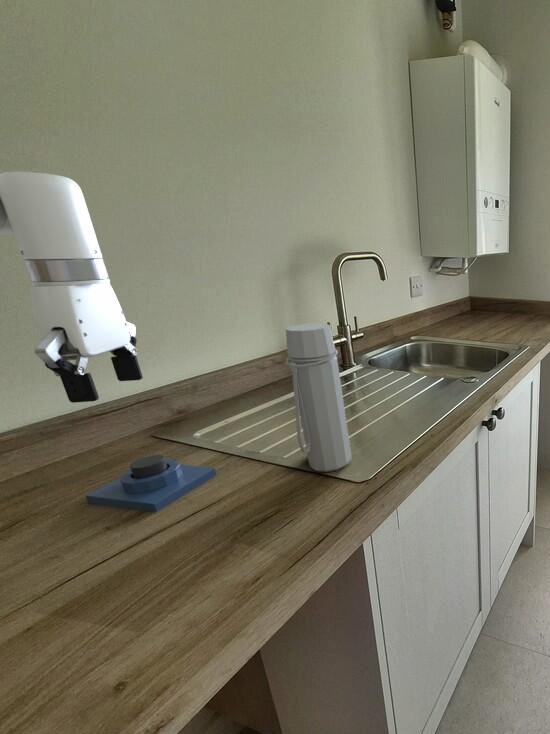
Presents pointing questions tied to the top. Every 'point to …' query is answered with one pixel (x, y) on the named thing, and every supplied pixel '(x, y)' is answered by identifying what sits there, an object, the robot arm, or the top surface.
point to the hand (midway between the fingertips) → (109, 389)
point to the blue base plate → (152, 488)
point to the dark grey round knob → (148, 466)
